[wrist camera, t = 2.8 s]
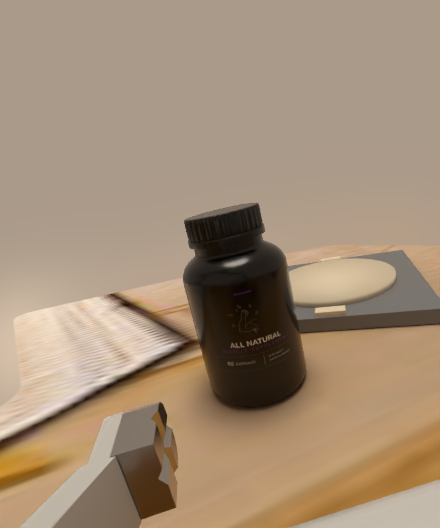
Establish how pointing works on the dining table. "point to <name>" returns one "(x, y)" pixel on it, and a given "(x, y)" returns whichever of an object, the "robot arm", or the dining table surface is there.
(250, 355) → the supplement bottle
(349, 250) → the dining table surface
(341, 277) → the slate board
